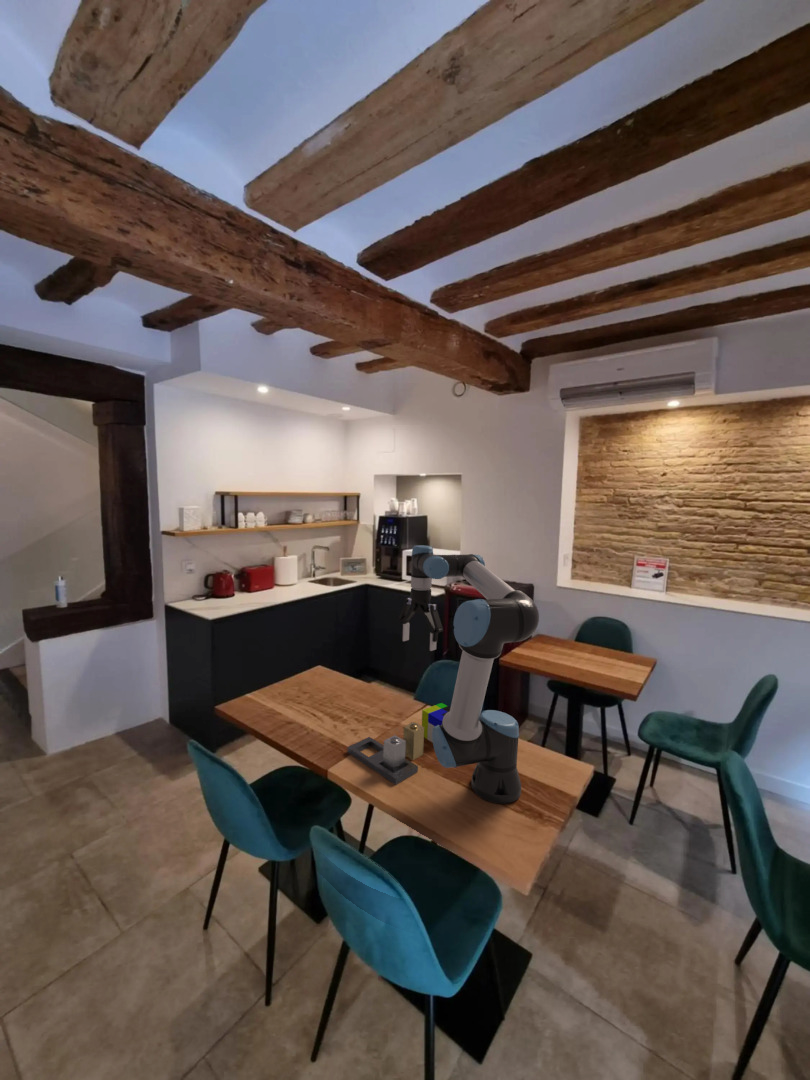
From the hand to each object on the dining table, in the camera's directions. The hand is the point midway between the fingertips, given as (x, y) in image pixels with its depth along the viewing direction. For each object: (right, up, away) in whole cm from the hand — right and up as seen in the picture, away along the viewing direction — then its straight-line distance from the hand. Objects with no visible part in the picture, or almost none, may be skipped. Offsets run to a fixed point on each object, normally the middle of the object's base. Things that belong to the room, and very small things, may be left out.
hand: (418, 645), depth 166 cm
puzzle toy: (+8, -35, +3) cm, 36 cm away
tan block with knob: (-2, -36, -9) cm, 37 cm away
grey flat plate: (-13, -36, -14) cm, 41 cm away
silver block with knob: (-9, -37, -18) cm, 42 cm away
